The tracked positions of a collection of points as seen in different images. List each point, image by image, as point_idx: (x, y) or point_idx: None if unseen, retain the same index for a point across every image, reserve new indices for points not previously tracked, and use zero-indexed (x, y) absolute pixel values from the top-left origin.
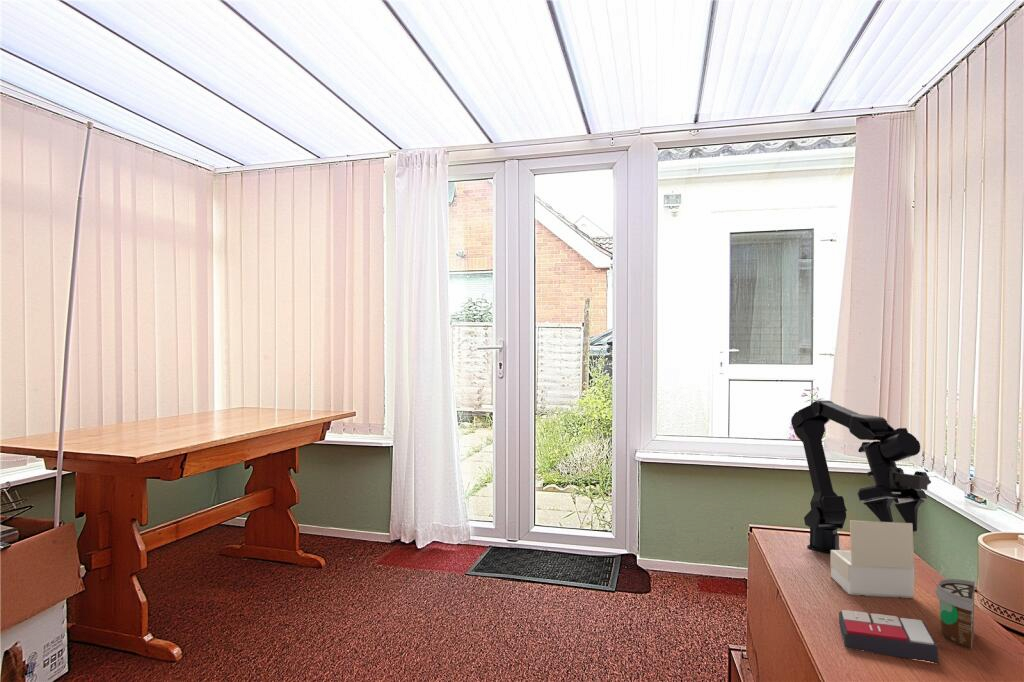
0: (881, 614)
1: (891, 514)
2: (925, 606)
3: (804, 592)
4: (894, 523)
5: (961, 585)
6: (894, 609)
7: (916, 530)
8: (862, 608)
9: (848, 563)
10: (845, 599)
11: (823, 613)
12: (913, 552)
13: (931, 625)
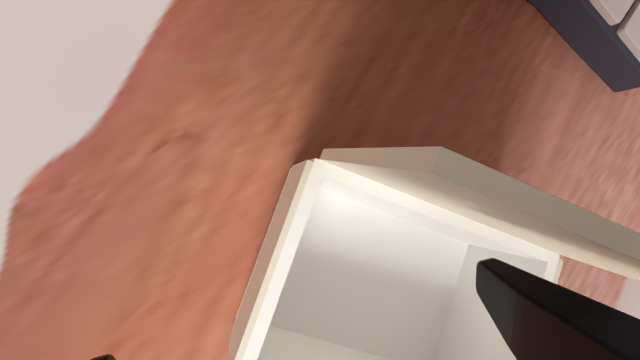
0: (603, 3)
1: (636, 356)
2: (308, 105)
3: (579, 281)
4: (601, 218)
5: None
6: (424, 116)
7: (102, 356)
8: (505, 148)
9: (556, 269)
10: None
11: (615, 150)
12: (344, 149)
13: (409, 3)
